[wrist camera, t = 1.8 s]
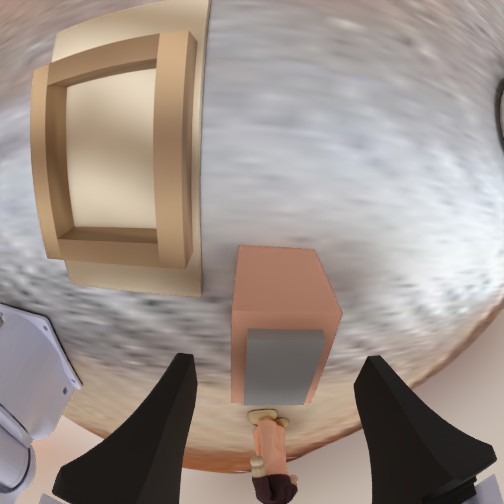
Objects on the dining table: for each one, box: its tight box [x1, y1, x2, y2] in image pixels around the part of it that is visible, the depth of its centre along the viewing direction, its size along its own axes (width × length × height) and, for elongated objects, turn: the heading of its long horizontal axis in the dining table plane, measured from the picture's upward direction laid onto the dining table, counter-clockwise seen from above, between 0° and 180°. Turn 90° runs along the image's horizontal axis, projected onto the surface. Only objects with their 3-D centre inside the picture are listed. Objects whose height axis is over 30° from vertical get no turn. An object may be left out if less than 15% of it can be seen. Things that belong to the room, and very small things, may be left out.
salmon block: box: [231, 245, 342, 405], centre depth 13 cm, size 6×4×6 cm, turn 177°
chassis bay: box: [30, 0, 211, 298], centre depth 11 cm, size 16×9×2 cm, turn 177°
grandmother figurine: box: [247, 409, 298, 504], centre depth 16 cm, size 8×4×13 cm, turn 41°
